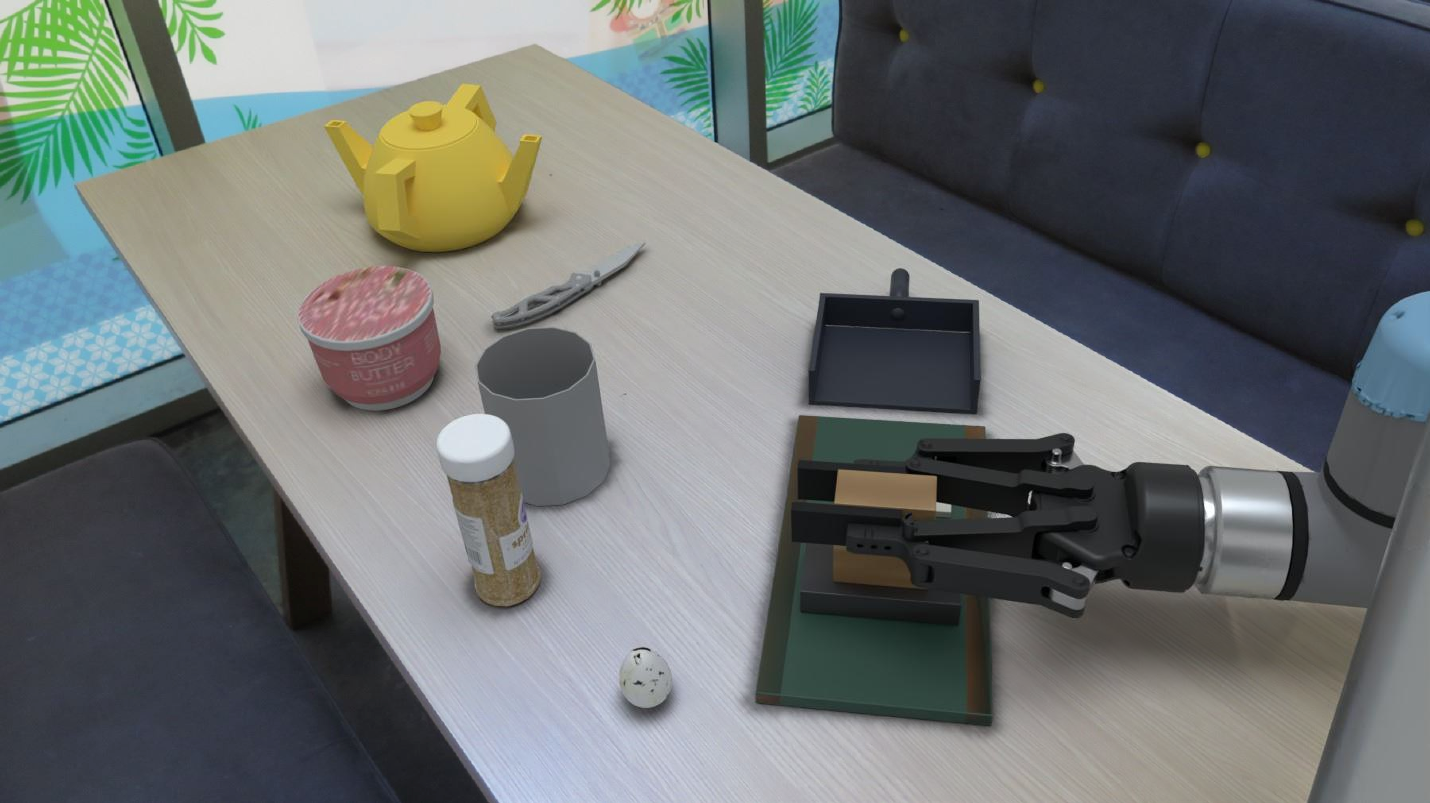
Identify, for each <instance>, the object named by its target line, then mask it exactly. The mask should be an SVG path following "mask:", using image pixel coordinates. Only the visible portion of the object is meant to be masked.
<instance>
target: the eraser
mask: <svg viewBox="0 0 1430 803" xmlns="http://www.w3.org/2000/svg"><path fill="white" fill-rule="evenodd" d="M936 496H937V476H927V475H913V474H898V473H884V472H869V471H854V470H840V469H839V470H838V474H837V483H836V492H835V500H834V505H842V506H856V507H869V508H883V509H897V510H902V515H901V526H902V524H903V516H904V515H905V514H906V513H908V512H912V515H913V521H919V520H935V518H936ZM926 543H929V542H928V541H926ZM932 569H934V568H933V567H932ZM910 576H911V574H910V572H909V570H908V567H907V565H906V563H905V562H904V561H903V560H902V559H900V558H897V557H890V556H877V555H865V554H854V553H851V552H849V551H846V546H839V545H826V544H813V543H806V549H805V557H804V564H803V572H802V579H801V586H800V612H809V613H820V614H832V615H843V616H855V617H866V618H878V619H889V620H900V621H912V622H923V623H935V624H946V625H959V620H960V611H961V594H960V593H953V592H946V591H940V590H933V589H926V588H919V587H916V586H914V585H913V584H912V583H911V580H910Z"/></svg>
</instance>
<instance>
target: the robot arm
mask: <svg viewBox="0 0 1430 803" xmlns="http://www.w3.org/2000/svg"><path fill="white" fill-rule="evenodd" d="M1339 417H1340V418H1339V421H1338V422H1337V423H1338V424H1337V426H1336V429H1335V432H1334V435H1333V437H1332V440H1331V443H1330V446H1329V448H1328V452H1327V453H1326V455H1325V459H1324V461H1323V463H1322V467H1321V469H1320V471H1319V472H1318V471H1288V470H1287V471H1286V470H1269V469H1255V468H1243V467H1232V466H1231V467H1230V466H1219V465H1206V466H1204V467H1203V468H1202V469H1200V470H1199V472H1198V473H1197V472H1196V470H1195V469H1194V468H1192V467H1191V466H1190V465H1188V464H1179V463H1178V464H1177V463H1176V464H1175V463H1163V462H1147V461H1135V462H1132V463H1130V464H1129V465H1128V466H1127V467H1125V468H1123V469H1121V470H1119V471H1112V470H1108V469H1104V468H1101V467H1099V466H1097V465H1094V464H1084V462H1083V460H1081V458H1080V457H1079V456H1078V455H1077V453H1076V452H1075V451H1074V448H1075V443H1076V438H1075V436H1074V435H1072V434H1070V433H1067V432H1060V433H1055V434H1052V435H1047V436H1043V437H1040V438H985V439H950V438H925V439H921V440H919V441H918V442H917V449H916V451H915V452H914V454H913V455H912V457H911V458H909V459H907V460H906V461H900V462H899V461H884V460H878V461H877V460H870V459H860V460H854V464H853V463H838V462H823V461H809V460H799V462H798V499H802V500H815V501H829V502H834V500H835V492H836V483H837V474H838V470H839V469H840V470H854V471H869V472H884V473H898V474H913V475H927V476H937V496H936V502H938V503H943V504H949V505H955V506H960V507H966V508H971V509H977V510H983V511H987V513H988V512H990V513H994V514H1001V515H1006V516H1008V517H988V518H979V519H949V520H919V521H913V515H912V512H908V513H906V514H905V515H904V516H903V524H902V526H901V515H902V510H897V509H883V508H869V507H856V506H842V505H832V504H819V503H805V502H792V508H791V536H792V542H800V543H813V544H826V545H839V546H846V551H849V552H851V553H854V554H865V555H877V556H890V557H897V558H900V559H902V560H903V561H904V562H905V563H906V565H907V567H908V570H909V572H910V574H911V576H910V580H911V583H912V584H913V585H914V586H916V587H919V588H926V589H933V590H940V591H946V592H953V593H960V594H966V595H973V596H980V597H987V598H990V599H994V600H1001V601H1007V602H1013V603H1021V604H1029V605H1033V606H1034V605H1035V606H1039V607H1040V606H1041V607H1043V608H1045V609H1048V610H1050V611H1052V612H1055V613H1056V614H1059V615H1061V616H1064V617H1066V618H1070V619H1077V620H1078V619H1080V618H1082V617H1083V616H1084V614H1085V609H1086V605H1087V601H1088V597H1089V595H1090V593H1091V591H1092V589H1093V588H1094V586H1095V585H1101V584H1102V585H1103V584H1105V583H1108V582H1111V581H1117V580H1120V581H1121V583H1122V584H1123V585H1124V587H1126V588H1128V589H1130V590H1138V591H1149V592H1161V593H1162V592H1163V593H1175V594H1184V593H1186V592H1187V591H1188V590H1190V589H1191V588H1192V587H1193V586H1194V588H1196V590H1197V591H1198V592H1199V593H1200V594H1202V595H1208V596H1209V595H1210V596H1222V597H1232V598H1245V599H1257V600H1270V601H1271V600H1273V601H1282V602H1285V601H1286V602H1287V601H1288V602H1289V601H1290V602H1297V603H1299V602H1300V603H1309V604H1320V605H1330V606H1341V607H1350V608H1362V609H1367V610H1366V612H1365V615H1364V618H1363V622H1362V625H1361V628H1360V631H1359V635H1358V637H1357V641H1356V645H1355V647H1354V651H1353V654H1352V657H1351V659H1350V664H1349V667H1348V670H1347V673H1346V677H1345V680H1344V683H1343V686H1342V690H1341V692H1340V696H1339V699H1338V702H1337V705H1336V708H1335V711H1334V715H1333V718H1332V721H1331V725H1330V728H1329V731H1328V734H1327V738H1326V740H1325V743H1324V747H1323V750H1322V753H1321V757H1320V760H1319V763H1318V766H1317V769H1316V772H1315V775H1314V778H1313V782H1312V785H1311V788H1310V792H1309V795H1308V798H1307V801H1306V803H1430V290H1428V291H1423V292H1419V293H1416V294H1412V295H1410V296H1407V297H1404V298H1402V299H1401V300H1400V299H1399V301H1397V302H1395V303H1394V304H1393V305H1392V306H1391V307H1389V308H1388V310H1387V311H1386V312H1385V313H1384V314H1383V315H1382V317H1381V319H1380V320H1379V322H1378V325H1377V327H1376V329H1375V331H1374V333H1373V335H1372V336H1371V340H1370V341H1369V344H1368V346H1367V349H1366V351H1365V353H1364V355H1363V358H1362V359H1361V360H1359V362H1358V363H1357V365H1356V367H1355V370H1354V373H1353V377H1352V380H1351V387H1350V389H1349V391H1348V395H1347V397H1346V401H1345V403H1344V406H1343V409H1342V411H1341V414H1340V416H1339ZM935 456H936V459H935ZM1030 493H1031V494H1030ZM1029 497H1030V498H1029ZM1029 499H1030V500H1029ZM1009 516H1010V517H1009ZM926 541H928V542H929V543H926ZM932 567H933V568H934V569H932Z"/></svg>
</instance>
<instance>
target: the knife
mask: <svg viewBox="0 0 1430 803" xmlns="http://www.w3.org/2000/svg"><path fill="white" fill-rule="evenodd" d="M644 246H646V242H641V243H636V244H633V245H630V246H628V247H625V248H623V249H621V250H619V251H616V253H614V254H612V255H610V256H609V257H607V258H606V259H603V260H602V261H600V262H599V263H597V264H595V265H593V266H592V267H590V268H588V269H587V270H585V269H583V270H581V273H578V272H571V274H570V277H569V280H568V281H567V282H565V283H563V284H560V285H551V286H550V287H548V288H546V289H544V290H542V291H540V292H537V293H534V294H532V295H529V296H528V297H526V298H524V299H522V300H521V301H519V302H517V303H515V304H514V305H512V306H510V307H509V308H507V309H504V310H502V311H501V310H500V311H495V312H493V313H492V314H491V315H490V316H491V319H492V322H491V323H492V324H493V325H494V329H496V330H500V329H501V330H503V329H510V328H515V327H519V326H522V325H525V324H530V323H532V322H535V321H538V320H540V319H542V318H545V317H546V316H549V315H551V314H553V313H555V312H557V311H559V310H561V309H562V308H564V307H566V306H567V305H568V304H570V303H572V302H573V301H575V300H576V299H578V298H580V297H581V296H583V295H584V294H586V293H588V292H590V291H592V289H593V287H594V286H596V287H600V286H601V285H602V281H603V280H605V279H607V278H608V277H610V276H612V275H613V274H615V273H616V272H619V270H621V269H622V268H623V269H624V268H625V267H626V266H627V265H628V264H629V262H631V260H633V258H634V257H635V256H636V255H637V254H638V253H639V251H641V249H642V248H643V247H644ZM561 293H562V294H561ZM559 294H560V295H559ZM540 304H541V305H540ZM538 305H539V306H538ZM536 306H537V307H536Z"/></svg>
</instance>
